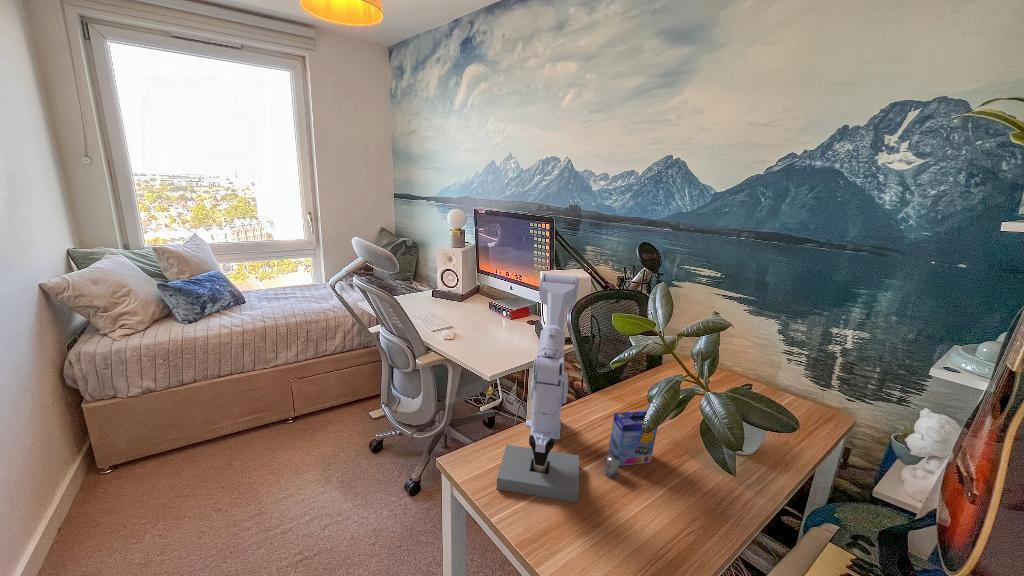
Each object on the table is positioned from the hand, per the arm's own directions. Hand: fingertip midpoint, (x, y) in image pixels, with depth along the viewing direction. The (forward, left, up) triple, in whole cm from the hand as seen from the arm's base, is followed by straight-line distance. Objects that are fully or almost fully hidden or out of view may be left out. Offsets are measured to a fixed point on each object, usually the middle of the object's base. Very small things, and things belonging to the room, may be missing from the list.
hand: (540, 459), depth 95 cm
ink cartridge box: (-12, +22, -5) cm, 26 cm away
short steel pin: (-5, +17, -5) cm, 18 cm away
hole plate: (0, 0, -5) cm, 5 cm away
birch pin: (0, 0, -3) cm, 3 cm away
